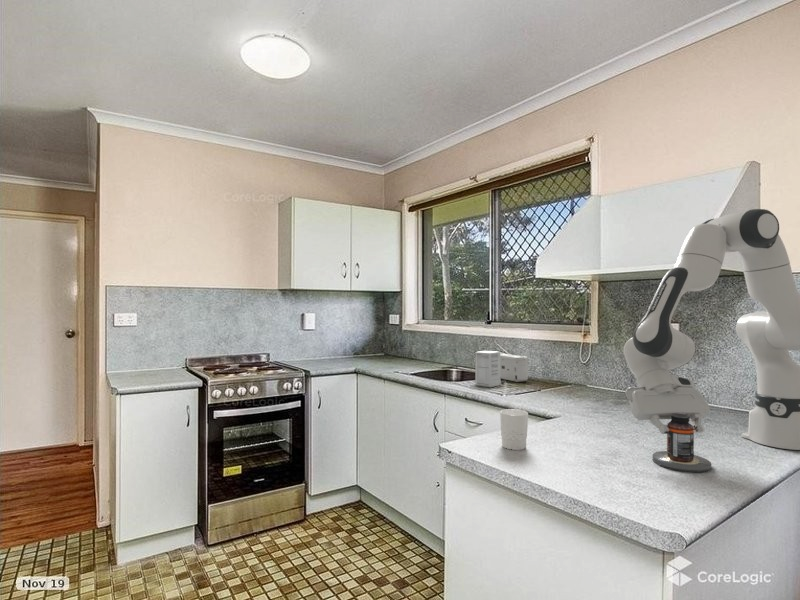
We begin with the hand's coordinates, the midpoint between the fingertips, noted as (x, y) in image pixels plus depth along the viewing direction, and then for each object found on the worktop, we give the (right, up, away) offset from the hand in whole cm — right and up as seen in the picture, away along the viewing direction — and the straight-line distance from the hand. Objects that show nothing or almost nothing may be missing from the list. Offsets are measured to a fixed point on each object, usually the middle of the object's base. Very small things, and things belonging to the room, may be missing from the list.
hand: (682, 432), depth 121 cm
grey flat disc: (0, -8, +1) cm, 8 cm away
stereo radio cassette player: (-14, -9, +132) cm, 133 cm away
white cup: (-40, -9, +15) cm, 43 cm away
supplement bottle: (0, -7, +1) cm, 7 cm away
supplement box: (-29, -9, +114) cm, 118 cm away
